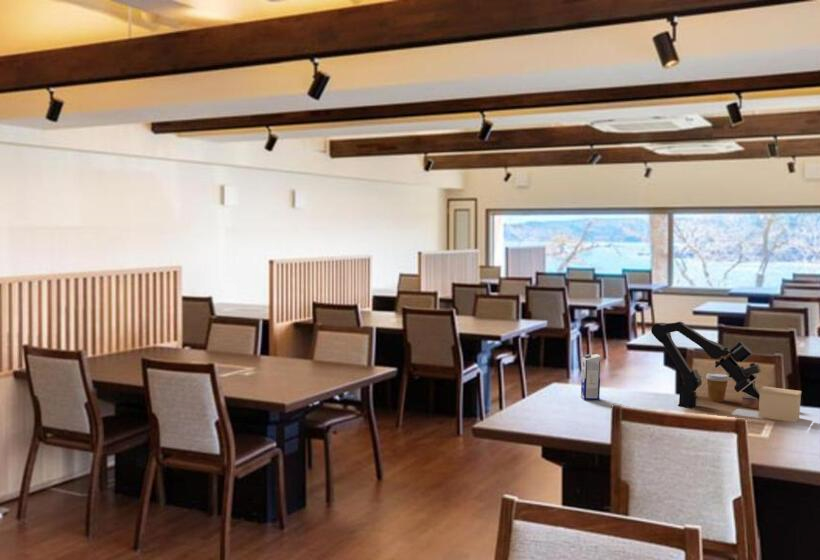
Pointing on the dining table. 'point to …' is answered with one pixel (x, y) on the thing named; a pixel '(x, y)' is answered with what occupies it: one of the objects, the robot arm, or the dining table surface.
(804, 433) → the dining table surface
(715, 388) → the disposable coffee cup
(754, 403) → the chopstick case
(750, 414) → the board
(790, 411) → the kraft carton
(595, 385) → the milk carton
